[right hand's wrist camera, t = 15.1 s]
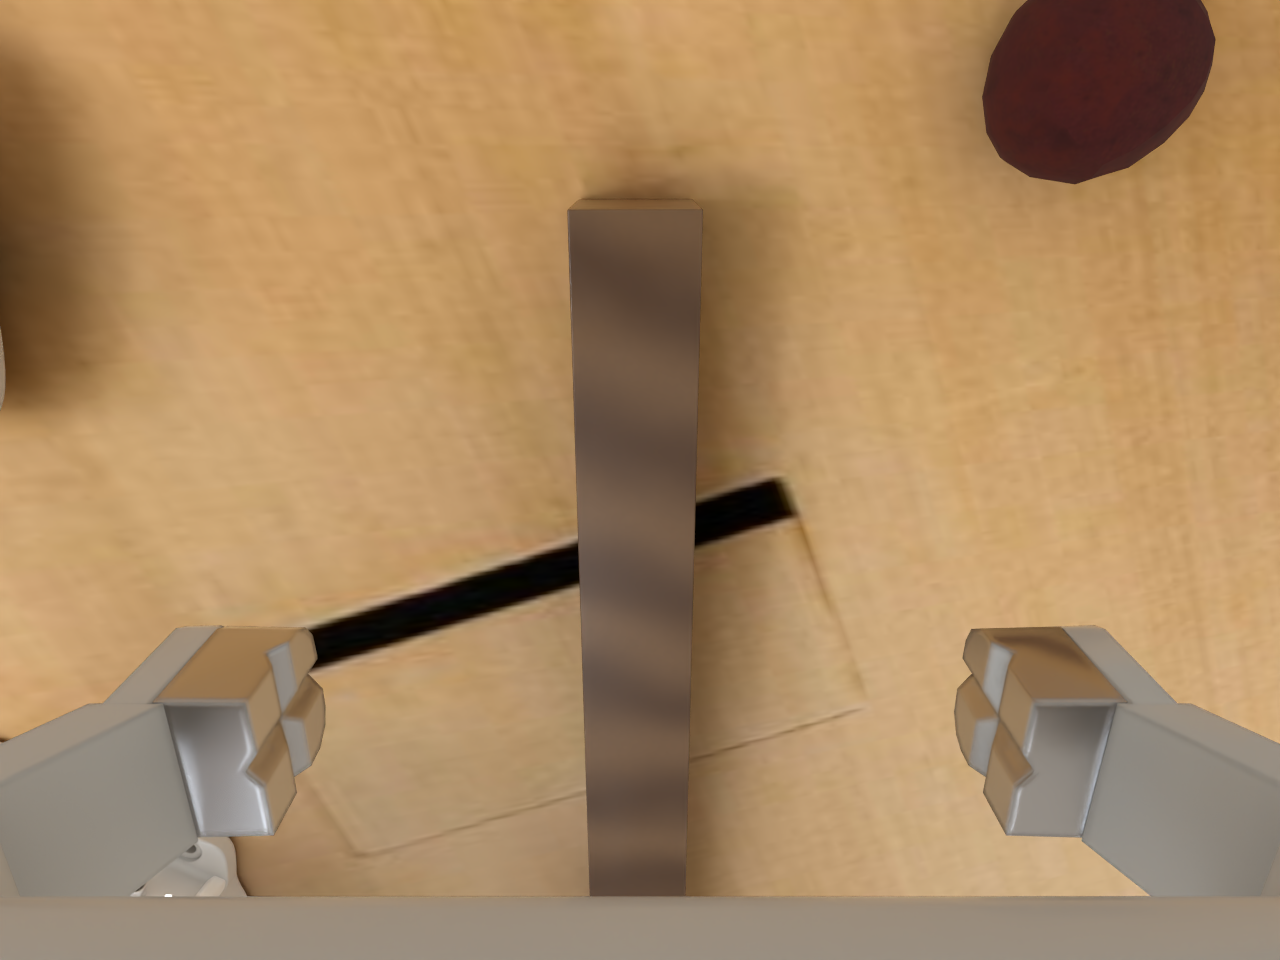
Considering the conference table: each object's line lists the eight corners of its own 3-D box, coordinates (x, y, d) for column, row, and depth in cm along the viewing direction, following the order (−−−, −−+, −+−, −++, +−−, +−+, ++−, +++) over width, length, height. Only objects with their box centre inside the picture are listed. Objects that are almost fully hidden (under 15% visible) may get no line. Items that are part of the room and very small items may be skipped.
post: (578, 199, 37) (567, 209, 31) (692, 199, 37) (703, 209, 31) (607, 1252, 67) (604, 1357, 61) (670, 1252, 67) (673, 1356, 61)
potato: (1175, 69, 35) (1301, 51, 28) (1030, 217, 37) (1114, 232, 30) (1064, -66, 33) (1170, -118, 26) (918, 97, 35) (982, 86, 28)
